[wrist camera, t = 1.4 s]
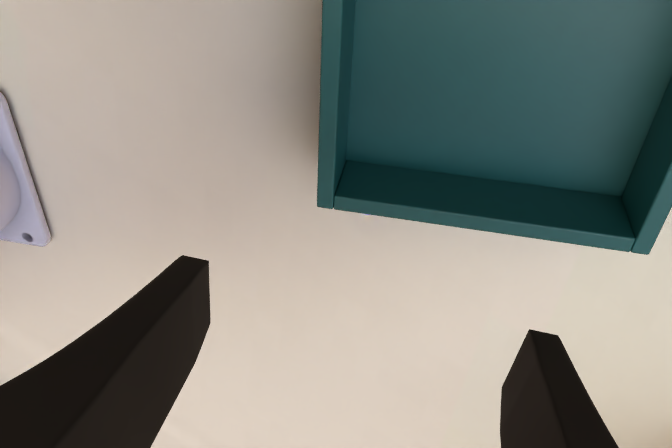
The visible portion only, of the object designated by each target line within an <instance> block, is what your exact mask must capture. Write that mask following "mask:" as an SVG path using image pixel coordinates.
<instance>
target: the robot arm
mask: <svg viewBox="0 0 672 448" xmlns="http://www.w3.org/2000/svg"><path fill="white" fill-rule="evenodd" d="M0 240H4V241H10V242H16V243H23V244H29V245H35V246H46V245H47V244H48V243H49V242H50V240H51V235H50V232H49V229H48V226H47V223H46V220H45V216H44V213H43V210H42V207H41V204H40V201H39V198H38V195H37V192H36V189H35V186H34V183H33V180H32V177H31V174H30V171H29V168H28V164H27V161H26V158H25V155H24V152H23V149H22V146H21V143H20V140H19V137H18V134H17V131H16V128H15V125H14V122H13V119H12V116H11V112H10V109H9V106H8V103H7V101H6V99H5V97H4V95H3V94H2V93H1V92H0ZM209 325H210V294H209V261H207V260H202V259H198V258H193V257H188V256H184V255H182V256H181V257H179V258H178V259H177V260H175V261H174V262H173V263H172V264H171V265H170V266H169V267H167V268H166V269H165V270H164V271H163V272H162V273H160V274H159V275H158V276H157V277H156V278H155V279H153V280H152V281H151V282H150V283H149V284H148V285H146V286H145V287H144V288H143V289H142V290H140V291H139V292H138V293H137V294H136V295H134V296H133V297H132V298H131V299H129V300H128V301H127V302H126V303H124V304H123V305H122V306H121V307H119V308H118V309H117V310H115V311H114V312H113V313H112V314H110V315H109V316H108V317H107V318H105V319H104V320H103V321H101V322H100V323H98V324H97V325H96V326H94V327H93V328H91V329H90V330H89V331H87V332H86V333H84V334H83V335H82V336H80V337H79V338H78V339H76V340H75V341H73V342H72V343H70V344H69V345H67V346H66V347H64V348H63V349H61V350H60V351H58V352H57V353H55V354H54V355H52V356H51V357H49V358H47V359H46V360H44V361H43V362H41V363H39V364H38V365H36V366H34V367H33V368H31V369H29V370H28V371H26V372H24V373H22V374H21V375H19V376H17V377H15V378H14V379H12V380H10V381H8V382H6V383H5V384H3V385H1V386H0V448H150V447H151V445H152V443H153V442H154V440H155V438H156V436H157V434H158V432H159V430H160V428H161V427H162V425H163V423H164V421H165V419H166V417H167V415H168V413H169V411H170V410H171V408H172V406H173V404H174V402H175V400H176V398H177V396H178V395H179V393H180V391H181V389H182V387H183V385H184V383H185V381H186V379H187V377H188V375H189V374H190V372H191V370H192V368H193V366H194V364H195V362H196V359H197V357H198V354H199V352H200V349H201V347H202V344H203V341H204V339H205V336H206V333H207V330H208V328H209ZM500 437H501V448H619V447H618V446H617V444H616V442H615V441H614V439H613V437H612V436H611V434H610V432H609V430H608V429H607V427H606V425H605V423H604V422H603V420H602V418H601V416H600V415H599V413H598V411H597V409H596V408H595V406H594V404H593V402H592V400H591V398H590V397H589V395H588V393H587V391H586V389H585V387H584V385H583V383H582V381H581V379H580V378H579V376H578V374H577V372H576V370H575V368H574V366H573V364H572V362H571V360H570V358H569V356H568V354H567V352H566V350H565V348H564V346H563V344H562V342H561V340H560V338H559V337H558V335H553V334H548V333H544V332H539V331H534V330H530V329H529V331H528V333H527V335H526V337H525V339H524V342H523V344H522V346H521V348H520V350H519V352H518V354H517V356H516V359H515V361H514V363H513V365H512V367H511V369H510V371H509V373H508V376H507V378H506V380H505V382H504V384H503V386H502V396H501V420H500Z"/></svg>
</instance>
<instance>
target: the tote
mask: <svg viewBox="0 0 672 448" xmlns="http://www.w3.org/2000/svg"><path fill="white" fill-rule="evenodd" d="M317 206H318V207H322V208H329V209H333V207H334V209H336V210H343V211H350V212H357V213H364V214H371V215H377V216H384V217H391V218H398V219H405V220H412V221H419V222H426V223H433V224H439V225H446V226H453V227H460V228H467V229H474V230H481V231H488V232H495V233H501V234H508V235H515V236H522V237H529V238H536V239H543V240H550V241H557V242H564V243H570V244H577V245H584V246H591V247H598V248H605V249H612V250H619V251H626V252H629V251H631V252H633V253H639V254H646V255H647V254H649V253H650V251H651V249H652V247H653V245H654V243H655V240H656V238H657V236H658V234H659V232H660V230H661V228H662V226H663V224H664V222H665V220H666V218H667V216H668V214H669V212H670V209H671V207H672V0H323V1H322V37H321V74H320V110H319V147H318V183H317Z"/></svg>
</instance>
